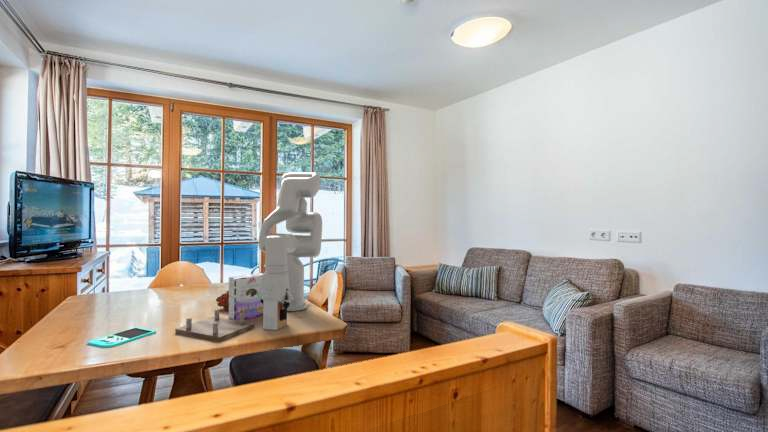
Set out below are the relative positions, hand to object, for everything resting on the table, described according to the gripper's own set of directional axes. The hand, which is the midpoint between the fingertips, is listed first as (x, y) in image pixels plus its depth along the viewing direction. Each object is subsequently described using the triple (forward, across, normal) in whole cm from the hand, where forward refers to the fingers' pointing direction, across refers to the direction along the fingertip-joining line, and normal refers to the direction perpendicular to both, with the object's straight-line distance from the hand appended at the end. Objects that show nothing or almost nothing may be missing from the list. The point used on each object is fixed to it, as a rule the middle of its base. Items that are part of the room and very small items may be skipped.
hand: (275, 318), depth 135 cm
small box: (+3, 0, 0) cm, 3 cm away
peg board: (+3, -16, -12) cm, 20 cm away
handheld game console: (+4, -37, -30) cm, 48 cm away
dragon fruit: (+3, -33, +11) cm, 35 cm away
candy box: (+3, -18, +6) cm, 19 cm away
